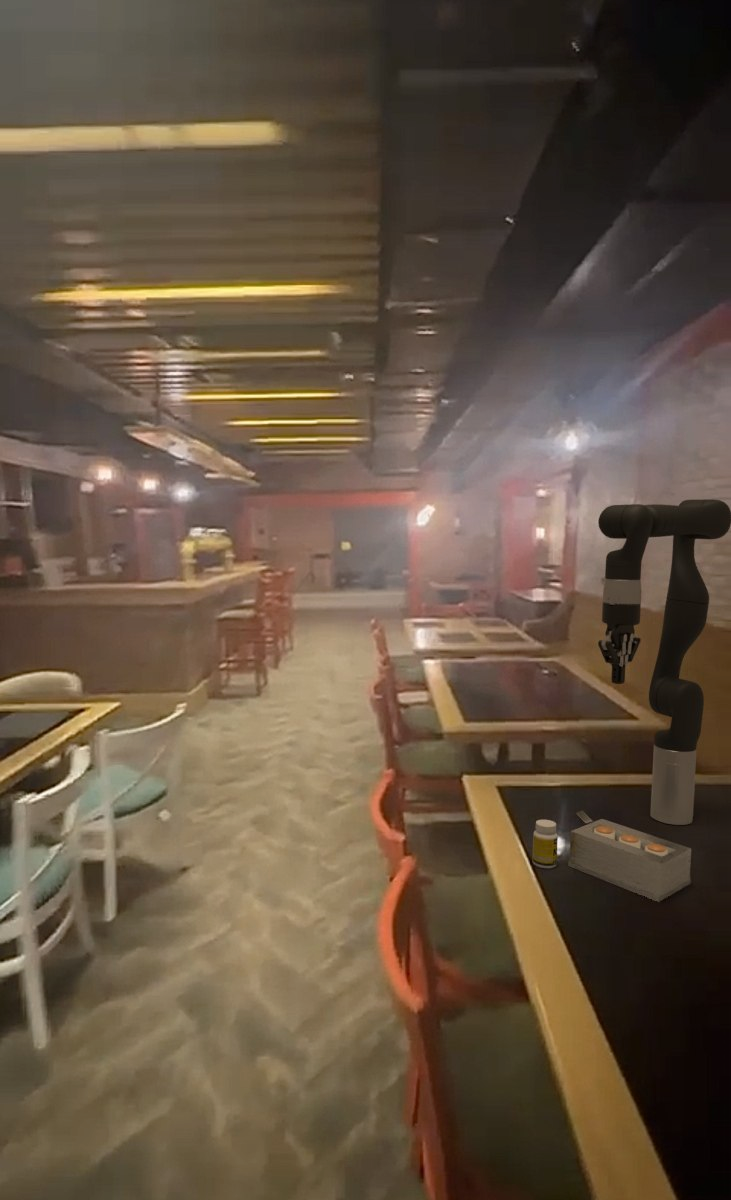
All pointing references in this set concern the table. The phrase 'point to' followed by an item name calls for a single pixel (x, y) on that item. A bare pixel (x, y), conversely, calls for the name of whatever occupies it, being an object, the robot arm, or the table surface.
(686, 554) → the robot arm
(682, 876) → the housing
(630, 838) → the knob
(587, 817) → the fork
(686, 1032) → the table surface
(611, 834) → the knob
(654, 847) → the knob
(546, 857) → the supplement bottle
